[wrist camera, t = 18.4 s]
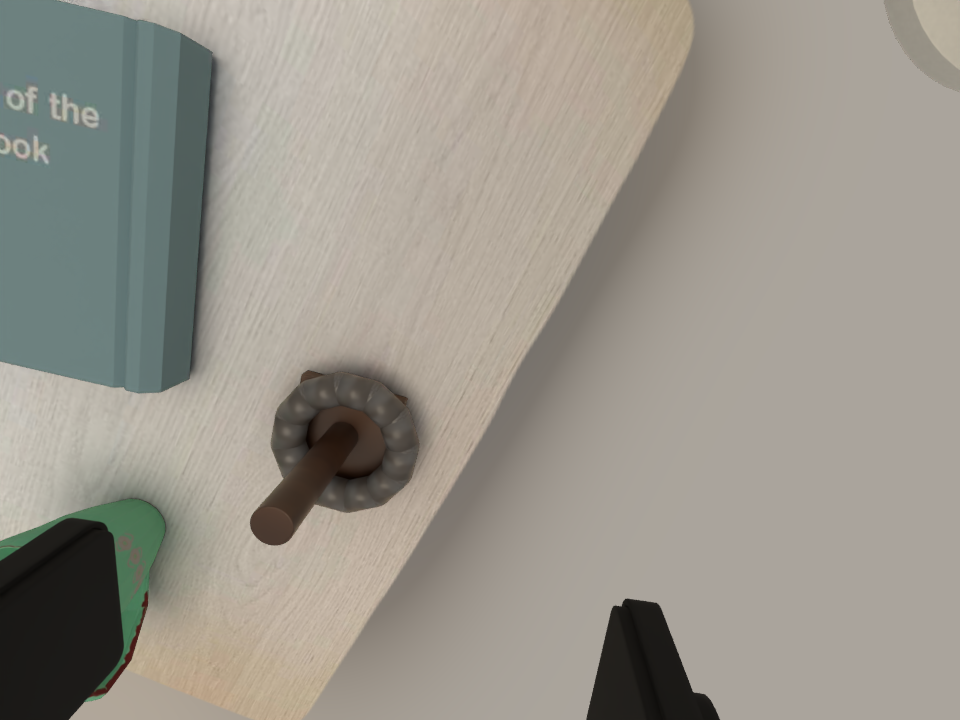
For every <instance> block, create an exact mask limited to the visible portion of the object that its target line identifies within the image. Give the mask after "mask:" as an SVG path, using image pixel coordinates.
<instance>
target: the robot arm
mask: <svg viewBox="0 0 960 720" xmlns="http://www.w3.org/2000/svg"><path fill="white" fill-rule="evenodd" d="M123 650H124V639H123V628H122V618H121V607H120V596H119V586H118V575H117V565H116V554H115V543H114V537H113V534H112V533H111V532H109V531H108V528H107V526H106V525H105V523H103V522H99V521H93V520H86V519H79V518H66V519H64V520H62V521H60V522H59V523H57V524H56V525H54V526H53V527H51V528H49V529H48V530H46V531H45V532H43V533H42V534H40V535H39V536H37V537H36V538H34V539H33V540H31V541H30V542H28V543H27V544H25V545H24V546H22V547H21V548H19V549H17V550H16V551H14V552H13V553H11V554H10V555H8V556H7V557H5V558H4V559H2V560H1V561H0V720H69V719H70V717H71V716H72V715H73V714H74V713H75V712H76V711H77V710H78V709H79V707H80V706H81V705H82V704H83V703H84V702H85V701H86V700H87V699H88V697H89V696H90V695H91V694H92V693H93V692H94V691H95V690H96V688H97V687H98V686H99V685H100V684H101V683H102V682H103V681H104V680H105V678H106V677H107V676H108V675H109V674H110V673H111V672H112V671H113V669H114V668H115V667H116V666H117V664H118V662H119V661H120V659H121V656H122V654H123ZM587 720H720V719H719V717H718V714H717V712H716V709H715V708H714V706H713V704H712V702H711V700H710V699H709V698H708V697H707V696H706V695H705V694H700V693H694V692H693V691H692V688H691V686H690V683H689V680H688V678H687V675H686V673H685V670H684V667H683V665H682V662H681V659H680V657H679V654H678V652H677V649H676V646H675V644H674V641H673V638H672V636H671V634H670V631H669V628H668V625H667V623H666V620H665V618H664V615H663V612H662V610H661V608H660V606H659V605H658V604H657V603H653V602H647V601H640V600H633V599H625V600H624V601H623V604H622V607H621V606H613V608H612V611H611V614H610V619H609V623H608V627H607V632H606V636H605V640H604V645H603V649H602V653H601V658H600V663H599V667H598V671H597V675H596V679H595V684H594V688H593V693H592V697H591V701H590V705H589V710H588V714H587Z"/></svg>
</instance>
